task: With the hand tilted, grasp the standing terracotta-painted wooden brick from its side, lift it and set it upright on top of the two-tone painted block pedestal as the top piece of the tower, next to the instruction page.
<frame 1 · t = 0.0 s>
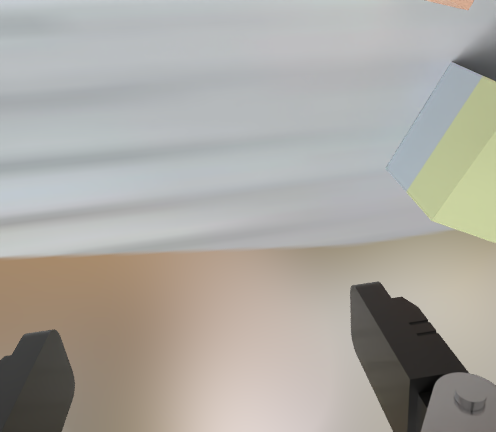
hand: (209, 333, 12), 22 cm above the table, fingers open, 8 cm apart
pedestal: (462, 137, 35), on the table
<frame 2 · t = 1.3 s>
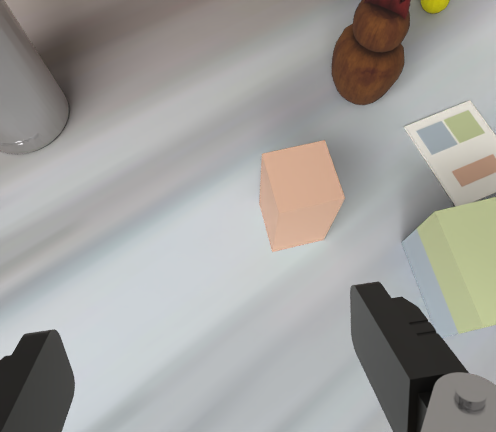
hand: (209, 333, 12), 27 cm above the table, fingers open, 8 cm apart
instruction page: (463, 152, 45), on the table
pedestal: (465, 277, 40), on the table
brick: (291, 221, 42), on the table
wooden figurine: (356, 90, 48), on the table
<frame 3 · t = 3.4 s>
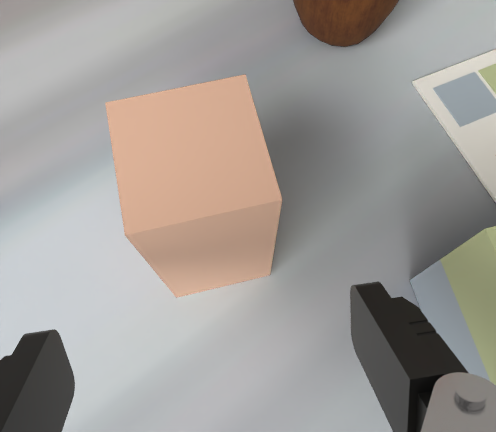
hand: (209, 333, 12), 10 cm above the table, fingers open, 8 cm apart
brick: (213, 241, 24), on the table
wooden figurine: (334, 25, 30), on the table
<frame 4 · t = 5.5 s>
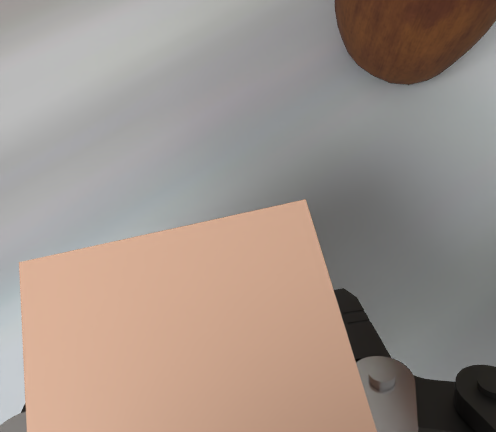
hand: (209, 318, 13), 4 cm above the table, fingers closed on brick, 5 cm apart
brick: (227, 385, 16), on the table, touching gripper
wooden figurine: (389, 53, 22), on the table
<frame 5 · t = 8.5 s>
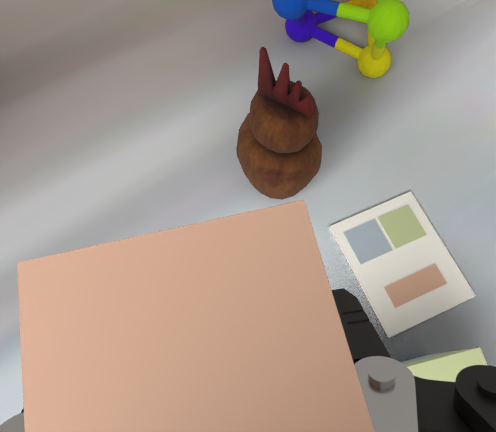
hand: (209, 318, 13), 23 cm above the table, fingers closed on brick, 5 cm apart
instruction page: (399, 260, 37), on the table
brick: (226, 385, 16), point 18 cm above the table, touching gripper
educational toy: (327, 43, 45), on the table
wooden figurine: (274, 176, 39), on the table
when the fingers open (13 cm above the table, at t = 11.8 s): brick stays where it is, resting on pedestal.
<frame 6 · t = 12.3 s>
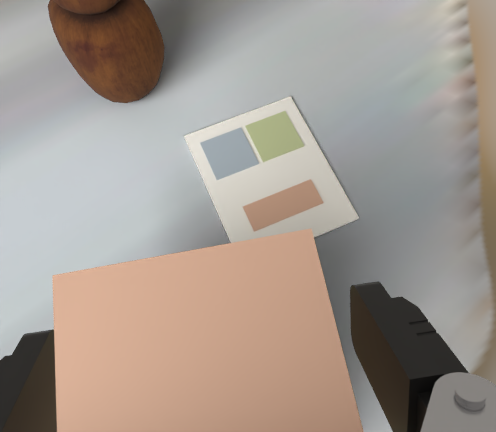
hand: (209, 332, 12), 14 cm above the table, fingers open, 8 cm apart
instruction page: (268, 176, 29), on the table
brick: (230, 388, 17), point 8 cm above the table, touching pedestal
wooden figurine: (126, 81, 32), on the table
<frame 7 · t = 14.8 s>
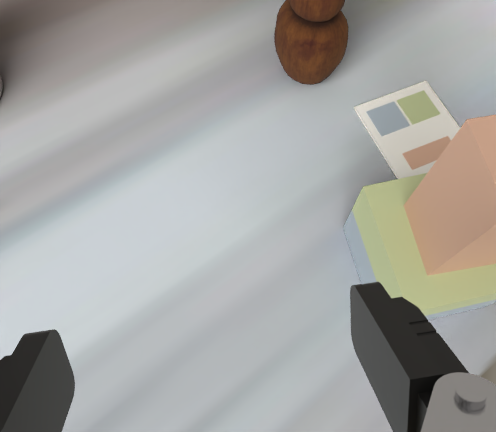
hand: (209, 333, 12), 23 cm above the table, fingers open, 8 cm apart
instruction page: (416, 134, 42), on the table
pedestal: (411, 265, 37), on the table
brick: (451, 233, 29), point 8 cm above the table, touching pedestal
wooden figurine: (305, 70, 45), on the table
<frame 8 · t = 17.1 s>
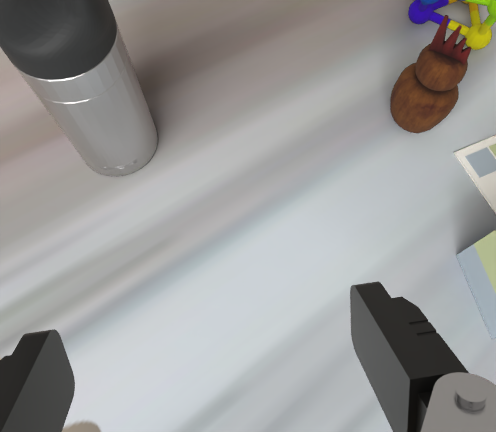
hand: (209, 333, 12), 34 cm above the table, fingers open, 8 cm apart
educational toy: (437, 25, 59), on the table
wooden figurine: (409, 119, 54), on the table
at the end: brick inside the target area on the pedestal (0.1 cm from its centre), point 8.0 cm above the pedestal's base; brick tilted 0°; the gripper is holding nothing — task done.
